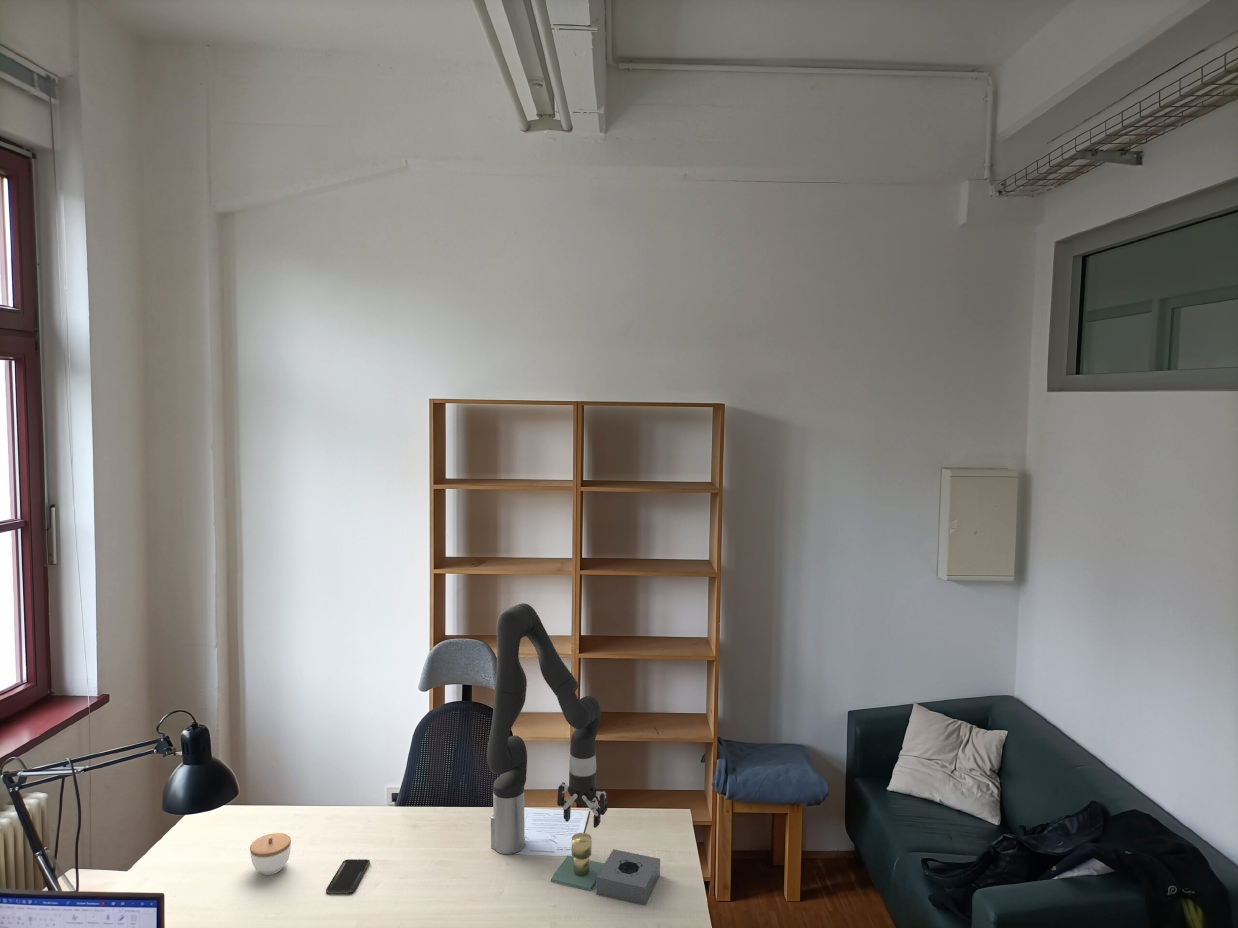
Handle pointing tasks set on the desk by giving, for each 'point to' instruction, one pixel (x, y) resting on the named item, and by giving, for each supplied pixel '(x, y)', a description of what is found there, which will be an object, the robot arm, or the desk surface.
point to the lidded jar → (270, 852)
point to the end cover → (581, 853)
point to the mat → (570, 879)
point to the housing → (628, 877)
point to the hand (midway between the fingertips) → (581, 823)
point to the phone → (348, 876)
